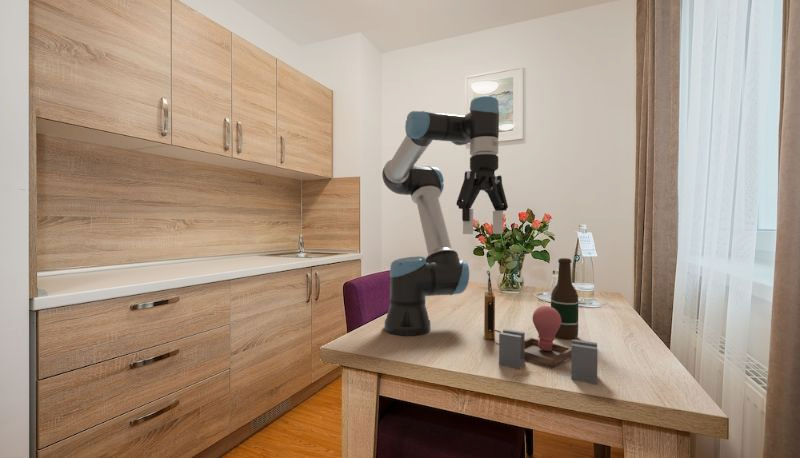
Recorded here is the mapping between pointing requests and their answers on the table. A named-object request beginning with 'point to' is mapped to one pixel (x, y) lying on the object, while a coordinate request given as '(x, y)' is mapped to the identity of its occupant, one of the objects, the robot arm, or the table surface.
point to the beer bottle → (565, 302)
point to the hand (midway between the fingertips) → (483, 234)
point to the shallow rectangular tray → (546, 353)
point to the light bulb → (546, 326)
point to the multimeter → (489, 313)
